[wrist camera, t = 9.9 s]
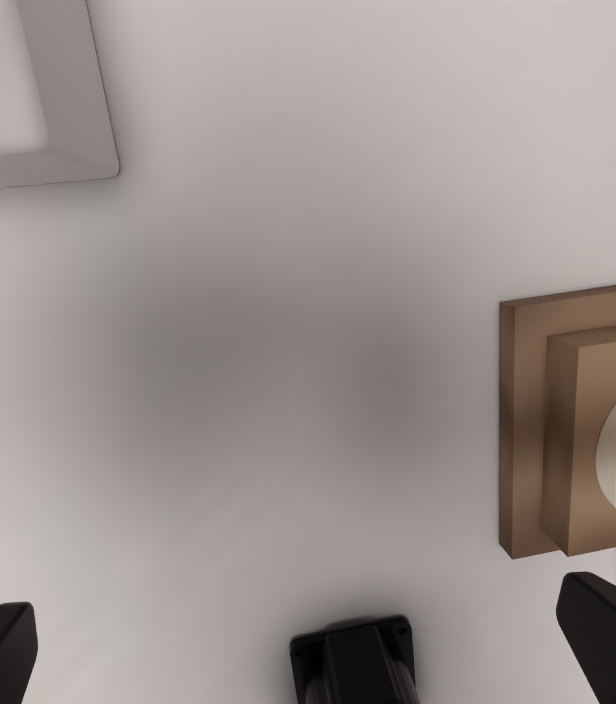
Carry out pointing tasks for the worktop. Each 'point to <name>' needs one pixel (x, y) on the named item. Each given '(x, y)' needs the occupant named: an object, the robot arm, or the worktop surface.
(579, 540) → the walnut plinth
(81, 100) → the medicine bottle
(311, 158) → the worktop surface
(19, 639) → the robot arm
